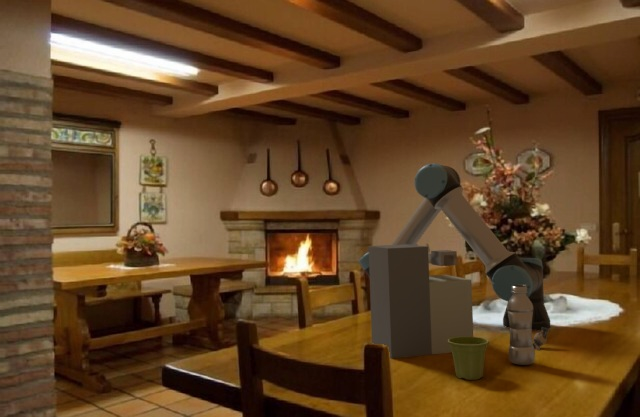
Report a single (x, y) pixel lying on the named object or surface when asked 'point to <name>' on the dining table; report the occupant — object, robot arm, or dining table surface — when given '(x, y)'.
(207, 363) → the dining table surface
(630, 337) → the dining table surface
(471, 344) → the plant pot
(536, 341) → the vase
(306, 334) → the dining table surface
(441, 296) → the pedestal
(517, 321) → the plastic bottle
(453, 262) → the batten
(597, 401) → the dining table surface
